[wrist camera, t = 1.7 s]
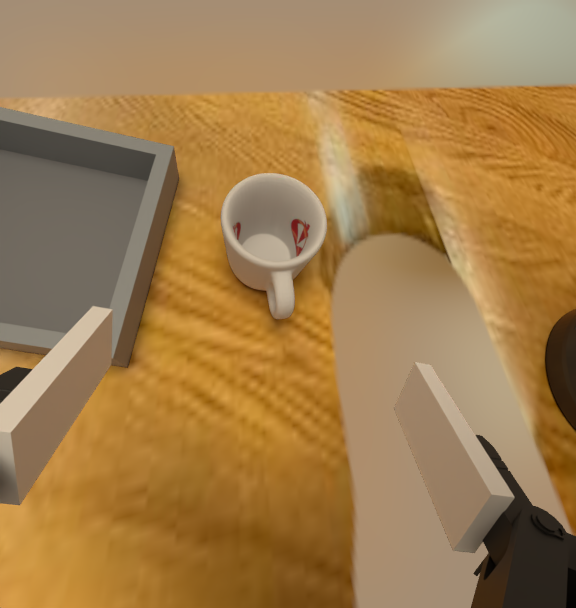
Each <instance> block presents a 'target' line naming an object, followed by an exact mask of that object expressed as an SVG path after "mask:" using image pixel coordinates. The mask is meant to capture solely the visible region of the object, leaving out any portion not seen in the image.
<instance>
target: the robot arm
mask: <svg viewBox="0 0 576 608" xmlns="http://www.w3.org/2000/svg"><path fill="white" fill-rule="evenodd" d="M112 316H113V309H107V308H101V307H96V306H92V308H91V309H90V310H89V311H88V312H87V313H86V314H85V315H84V316H83V317H82V318H81V319H80V320H79V321H78V322H77V323H76V324H75V325H74V327H73V328H72V329H71V330H70V331H69V332H68V333H67V334H66V335H65V336H64V337H63V338H62V339H61V340H60V341H59V342H58V343H57V344H56V346H55V347H54V348H53V349H52V350H51V351H50V352H49V353H48V354H47V355H46V356H45V357H44V358H43V359H42V360H41V361H40V362H39V363H38V365H37V366H36V367H35V368H34V369H27V368H21V367H15V368H13V369H11V370H9V371H7V372H5V373H3V374H1V375H0V503H4V504H13V505H20V504H21V503H22V501H23V500H24V498H25V497H26V495H27V493H28V492H29V490H30V489H31V487H32V486H33V484H34V483H35V481H36V480H37V478H38V477H39V475H40V473H41V472H42V470H43V469H44V467H45V466H46V464H47V463H48V461H49V460H50V458H51V457H52V455H53V453H54V452H55V450H56V449H57V447H58V446H59V444H60V443H61V441H62V440H63V438H64V437H65V435H66V433H67V432H68V430H69V429H70V427H71V426H72V424H73V423H74V421H75V420H76V418H77V417H78V415H79V413H80V412H81V410H82V409H83V407H84V406H85V404H86V403H87V401H88V400H89V398H90V396H91V395H92V393H93V392H94V390H95V389H96V387H97V386H98V384H99V383H100V381H101V380H102V378H103V376H104V375H105V373H106V372H107V370H108V369H109V367H110V366H111V355H112ZM546 365H547V373H548V378H549V382H550V386H551V389H552V391H553V394H554V397H555V399H556V401H557V403H558V405H559V407H560V409H561V410H562V412H563V414H564V415H565V417H566V418H567V419H568V421H569V422H570V423H571V425H572V426H573V427H574V428H575V429H576V309H575V310H572V311H570V312H569V313H567V314H566V315H564V316H563V317H562V318H561V319H560V320H559V321H558V322H557V324H556V325H555V327H554V328H553V330H552V332H551V335H550V337H549V341H548V345H547V353H546ZM394 410H395V412H396V415H397V417H398V420H399V422H400V424H401V427H402V429H403V432H404V434H405V436H406V439H407V441H408V443H409V446H410V449H411V451H412V453H413V456H414V458H415V461H416V463H417V465H418V468H419V470H420V472H421V475H422V477H423V480H424V482H425V485H426V487H427V489H428V492H429V494H430V497H431V499H432V501H433V504H434V506H435V509H436V511H437V514H438V516H439V518H440V521H441V523H442V525H443V528H444V530H445V533H446V535H447V538H448V540H449V542H450V545H451V547H452V550H453V551H461V552H470V553H475V552H476V550H477V549H478V547H479V546H480V544H481V543H482V542H484V544H485V546H486V548H487V550H488V552H489V553H488V555H487V556H486V558H485V559H484V560H483V561H482V563H481V564H480V565H479V567H478V568H477V569H476V571H475V572H474V574H475V575H476V576H478V574H479V573H480V576H479V580H478V584H477V587H476V591H475V595H474V598H473V602H472V606H471V608H576V536H573V535H571V534H568V533H566V531H565V529H564V528H563V526H562V525H561V524H560V523H559V522H558V521H557V520H556V519H555V518H554V517H553V516H552V515H550V514H549V513H548V512H546V511H544V510H543V509H541V508H539V507H536V506H533V505H532V504H531V502H530V501H529V499H528V498H527V496H526V495H525V493H524V492H523V490H522V489H521V487H520V486H519V484H518V483H517V482H516V480H515V479H514V477H513V475H512V474H511V472H510V471H508V468H507V466H506V465H505V463H504V462H503V461H501V457H500V456H499V455H498V453H497V451H496V450H495V449H494V447H493V446H492V445H491V444H490V443H489V442H488V441H487V440H486V439H485V438H483V437H482V436H480V435H475V434H474V432H473V431H472V429H471V428H470V426H469V424H468V423H467V421H466V420H465V418H464V417H463V415H462V414H461V412H460V410H459V409H458V407H457V406H456V404H455V402H454V401H453V399H452V398H451V396H450V395H449V393H448V391H447V390H446V388H445V387H444V385H443V384H442V382H441V380H440V379H439V377H438V376H437V374H436V373H435V371H434V370H433V368H432V366H431V365H429V364H423V363H418V362H415V363H414V365H413V367H412V369H411V371H410V374H409V376H408V378H407V380H406V383H405V385H404V387H403V389H402V391H401V394H400V396H399V398H398V401H397V403H396V405H395V407H394Z"/></svg>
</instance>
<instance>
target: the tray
mask: <svg viewBox="0 0 576 608" xmlns="http://www.w3.org/2000/svg"><path fill="white" fill-rule="evenodd" d="M178 181H179V175H178V169H177V163H176V157H175V151H174V146H170V145H165V144H161V143H157V142H152V141H148V140H143V139H139V138H134V137H130V136H126V135H121V134H117V133H112V132H108V131H103V130H99V129H95V128H90V127H86V126H81V125H77V124H72V123H68V122H64V121H59V120H55V119H50V118H46V117H41V116H37V115H33V114H28V113H24V112H19V111H15V110H10V109H6V108H2V107H0V348H3V349H10V350H16V351H23V352H29V353H36V354H42V355H47V354H48V353H49V352H50V351H51V350H52V349H53V348H54V347H55V346H56V344H57V343H58V342H59V341H60V340H61V339H62V338H63V337H64V336H65V335H66V334H67V333H68V332H69V331H70V330H71V329H72V328H73V327H74V325H75V324H76V323H77V322H78V321H79V320H80V319H81V318H82V317H83V316H84V315H85V314H86V313H87V312H88V311H89V310H90V309H91V308H92V306H96V307H101V308H107V309H113V316H112V355H111V365H114V366H120V367H127V368H128V365H129V361H130V357H131V354H132V350H133V346H134V343H135V339H136V335H137V332H138V328H139V324H140V321H141V317H142V313H143V310H144V306H145V302H146V299H147V295H148V291H149V288H150V284H151V280H152V277H153V273H154V269H155V265H156V262H157V258H158V254H159V251H160V247H161V243H162V240H163V236H164V232H165V229H166V225H167V221H168V218H169V214H170V210H171V207H172V203H173V199H174V196H175V192H176V188H177V185H178Z"/></svg>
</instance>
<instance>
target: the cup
mask: <svg viewBox="0 0 576 608" xmlns="http://www.w3.org/2000/svg"><path fill="white" fill-rule="evenodd" d="M221 226H222V231H223V236H224V241H225V246H226V252H227V257H228V261H229V264H230V267H231V269H232V271H233V273H234V274H235V275H236V277H237V278H238V279H239V280H240V281H241V282H243V283H244V284H245V285H247V286H249V287H251V288H254V289H257V290H263V291H267V296H268V302H269V308H270V312H271V314H272V316H273V317H274V318H275V319H285V318H288V317H289V316H291V314H292V312H293V310H294V304H295V296H294V287H293V279H294V278H295V277H296V276H297V275H298V274H299V273H300V272H301V270H302V269H303V268H304V267H305V266H306V265H307V264H308V262H309V261H310V260H311V259H312V258H313V257H314V256H315V254H316V253H317V252H318V251H319V249H320V248H321V246H322V244H323V242H324V239H325V236H326V230H327V220H326V214H325V211H324V208H323V206H322V204H321V202H320V200H319V199H318V197H317V196H316V195H315V193H314V192H313V191H312V190H311V189H310V188H308V187H307V186H306V185H305V184H303V183H302V182H300V181H298V180H296V179H294V178H292V177H289V176H286V175H282V174H276V173H263V174H257V175H254V176H251V177H248V178H246V179H244V180H242V181H241V182H239V183H238V184H237V185H235V186H234V187H233V188H232V190H231V191H230V192H229V193H228V195H227V197H226V198H225V201H224V203H223V207H222V211H221Z"/></svg>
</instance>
